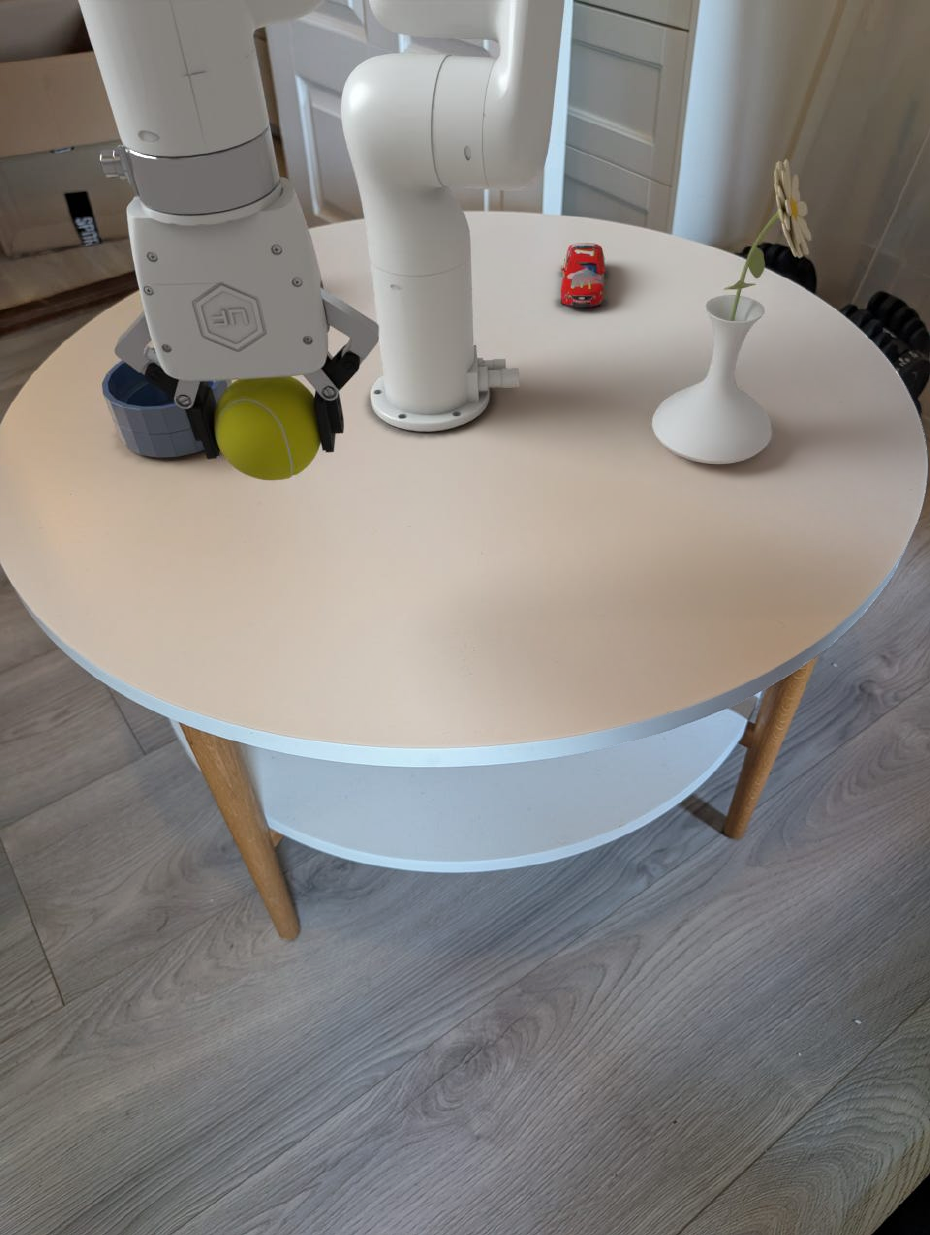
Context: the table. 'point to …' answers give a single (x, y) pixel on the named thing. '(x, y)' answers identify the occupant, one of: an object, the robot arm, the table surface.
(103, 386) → the blue round bowl
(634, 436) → the table surface
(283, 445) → the tennis ball
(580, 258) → the race car
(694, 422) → the flower in vase
